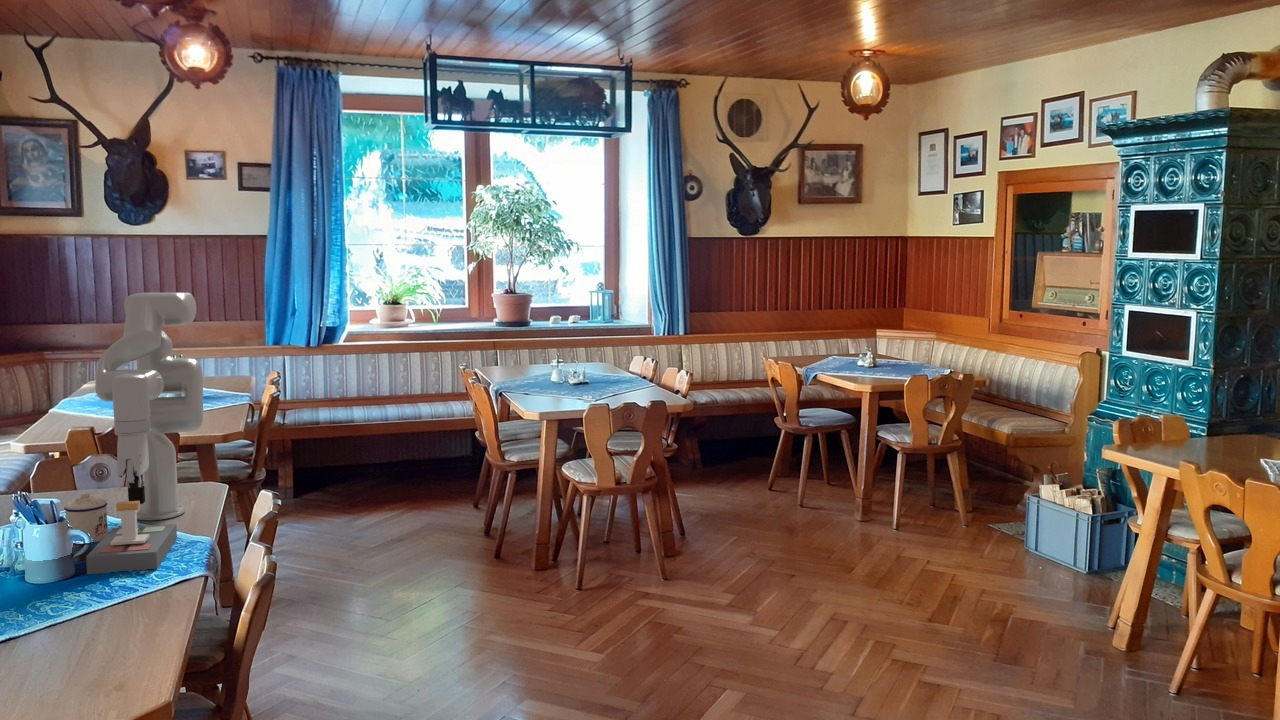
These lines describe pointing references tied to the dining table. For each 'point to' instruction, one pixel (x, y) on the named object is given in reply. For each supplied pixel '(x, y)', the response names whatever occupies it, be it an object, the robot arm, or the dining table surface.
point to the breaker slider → (129, 524)
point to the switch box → (132, 550)
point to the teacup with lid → (88, 515)
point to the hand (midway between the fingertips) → (137, 503)
